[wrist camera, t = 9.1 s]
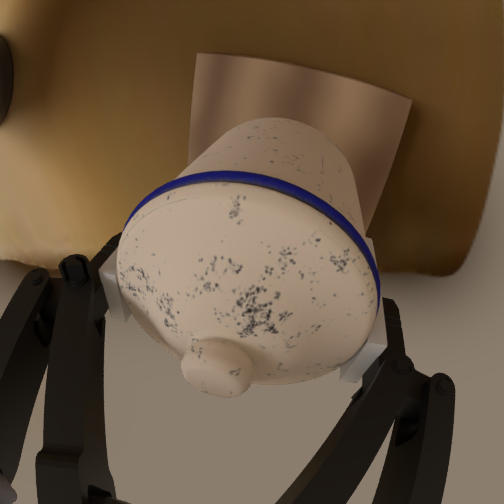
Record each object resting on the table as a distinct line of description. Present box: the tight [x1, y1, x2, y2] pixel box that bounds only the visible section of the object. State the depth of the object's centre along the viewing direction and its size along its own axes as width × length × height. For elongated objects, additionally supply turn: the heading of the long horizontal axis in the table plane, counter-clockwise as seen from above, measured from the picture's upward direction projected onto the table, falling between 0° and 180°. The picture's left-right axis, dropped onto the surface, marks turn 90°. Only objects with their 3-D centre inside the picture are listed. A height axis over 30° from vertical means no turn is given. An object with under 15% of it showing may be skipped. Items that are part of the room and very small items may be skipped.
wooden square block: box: [187, 53, 413, 234], centre depth 25 cm, size 16×16×4 cm
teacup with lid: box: [117, 118, 381, 398], centre depth 13 cm, size 12×9×12 cm
